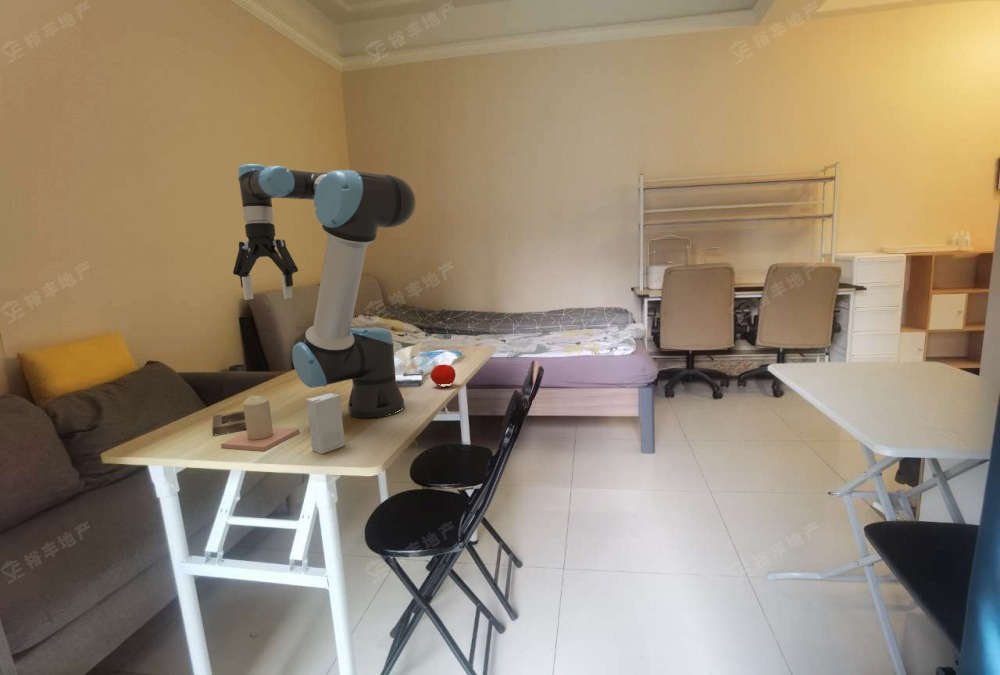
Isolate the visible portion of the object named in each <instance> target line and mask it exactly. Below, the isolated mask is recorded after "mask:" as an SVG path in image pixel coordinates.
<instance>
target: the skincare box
mask: <svg viewBox="0 0 1000 675" xmlns="http://www.w3.org/2000/svg"><path fill="white" fill-rule="evenodd" d="M341 401H342V400H341V396H340V394H336V393H332V392H328V393H325V394H322V395H318V396H314V397H311V398H306V407H307V408H306V409H307V415H308V424H309V433H310V434H309V435H310V441H311V449H312V451H313V452H316V453H318V454H321V455H323V454H326V453H329V452H331V451H335V450H337V449H339V448H343V447H345V446H346V440H345V439H346V438H345V431H344V430H345V429H344V420H343V413H342V411H343V410H342V404H341V403H342V402H341Z"/></svg>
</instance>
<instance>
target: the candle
mask: <svg viewBox="0 0 1000 675" xmlns="http://www.w3.org/2000/svg"><path fill="white" fill-rule="evenodd" d="M242 406H243V411H244V414H245V422H246V429H247V430H246V432H247V436H248V439H250V440H259V439H264V438H267V437H270V436H271V435H273V428H272V427H273V423H272V422H273V420H272V415H271V414H272V413H271V407H270V401H269V398H267V397H266V396H264V395H263V394H261V395H254V394H250V395H249V396H247V398H246V399H245V400H244V401H243V403H242Z"/></svg>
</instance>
